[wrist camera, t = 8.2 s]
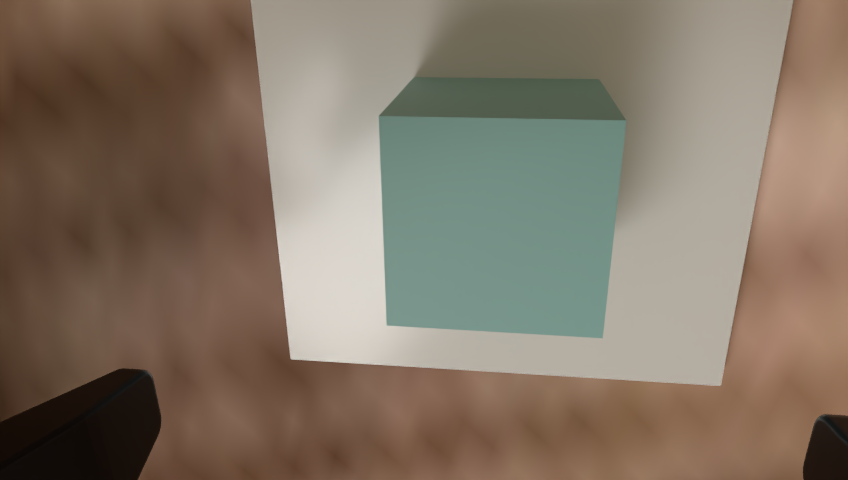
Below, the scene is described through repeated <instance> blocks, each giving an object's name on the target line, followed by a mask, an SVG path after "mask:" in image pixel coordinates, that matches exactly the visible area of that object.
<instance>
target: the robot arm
mask: <svg viewBox="0 0 848 480" xmlns="http://www.w3.org/2000/svg"><path fill="white" fill-rule="evenodd" d="M160 428H161V413H160V409H159V404H158V399H157V394H156V389H155V385H154V380H153V377H152V375H151V374H150V373H149V372H148V371H146V370H140V369H124V368H123V369H118V370H116V371H113V372H111V373H109V374H107V375H104V376H102V377H100V378H98V379H96V380H93V381H91V382H89V383H87V384H84V385H82V386H80V387H78V388H75V389H73V390H71V391H69V392H67V393H64V394H62V395H60V396H58V397H55V398H53V399H51V400H49V401H47V402H44V403H42V404H40V405H38V406H35V407H33V408H31V409H29V410H26V411H24V412H22V413H20V414H18V415H15V416H13V417H11V418H9V419H6V420H4V421H2V422H0V480H138V478H139V476H140V474H141V472H142V469H143V467H144V465H145V463H146V461H147V458H148V456H149V454H150V452H151V450H152V448H153V445H154V443H155V441H156V439H157V437H158V434H159V431H160ZM803 479H804V480H848V416H845V415H830V414H823V415H821V416H819V417H818V418H817V419H816V421H815V423H814V426H813V430H812V434H811V438H810V442H809V445H808V449H807V453H806V457H805V461H804V466H803Z"/></svg>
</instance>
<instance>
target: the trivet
mask: <svg viewBox="0 0 848 480" xmlns="http://www.w3.org/2000/svg"><path fill="white" fill-rule="evenodd" d="M792 6H793V0H251V8H252V17H253V26H254V35H255V44H256V53H257V62H258V71H259V80H260V89H261V98H262V107H263V116H264V124H265V133H266V142H267V151H268V160H269V169H270V178H271V187H272V196H273V205H274V214H275V223H276V232H277V241H278V250H279V259H280V268H281V277H282V286H283V295H284V304H285V313H286V322H287V331H288V340H289V348H290V357H291V359H294V360H310V361H327V362H343V363H359V364H375V365H391V366H407V367H424V368H440V369H456V370H472V371H488V372H504V373H520V374H537V375H553V376H569V377H585V378H601V379H617V380H633V381H650V382H666V383H682V384H698V385H714V386H721V382H722V377H723V371H724V366H725V361H726V355H727V350H728V345H729V340H730V334H731V329H732V324H733V318H734V313H735V308H736V302H737V297H738V292H739V287H740V281H741V276H742V271H743V265H744V260H745V255H746V249H747V244H748V239H749V234H750V228H751V223H752V218H753V212H754V207H755V202H756V196H757V191H758V186H759V181H760V175H761V170H762V165H763V159H764V154H765V149H766V143H767V138H768V133H769V128H770V122H771V117H772V112H773V106H774V101H775V96H776V90H777V85H778V80H779V75H780V69H781V64H782V59H783V53H784V48H785V43H786V38H787V32H788V27H789V22H790V16H791V11H792ZM414 77H441V78H540V79H599V80H600V81H601V83H602V84H603V86H604V87H605V89H606V90H607V92H608V93H609V95H610V96H611V98H612V99H613V101H614V102H615V104H616V105H617V107H618V109H619V110H620V112H621V113H622V115H623V116H624V118H625V119H626V129H625V138H624V147H623V157H622V166H621V175H620V184H619V193H618V203H617V212H616V221H615V230H614V239H613V249H612V258H611V267H610V276H609V285H608V295H607V304H606V313H605V322H604V331H603V338H589V337H572V336H555V335H538V334H521V333H504V332H487V331H470V330H453V329H436V328H419V327H402V326H387V322H386V295H385V269H384V243H383V217H382V191H381V165H380V139H379V115H380V114H381V113H382V112H383V111H384V110H385V108H386V107H387V106H388V105H389V104H390V103H391V102H392V101H393V100H394V99H395V98H396V96H397V95H398V94H399V93H400V92H401V91H402V90H403V89H404V88H405V87H406V85H407V84H408V83H409V82H410V81H411V80H412V79H413V78H414Z"/></svg>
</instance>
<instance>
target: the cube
mask: <svg viewBox="0 0 848 480" xmlns="http://www.w3.org/2000/svg"><path fill="white" fill-rule="evenodd" d="M625 129H626V119H625V118H624V116H623V115H622V113H621V112H620V110H619V109H618V107H617V105H616V104H615V102H614V101H613V99H612V98H611V96H610V95H609V93H608V92H607V90H606V89H605V87H604V86H603V84H602V83H601V81H600V80H599V79H540V78H441V77H414V78H413V79H412V80H411V81H410V82H409V83H408V84H407V85H406V87H405V88H404V89H403V90H402V91H401V92H400V93H399V94H398V95H397V96H396V98H395V99H394V100H393V101H392V102H391V103H390V104H389V105H388V106H387V107H386V108H385V110H384V111H383V112H382V113H381V114H380V115H379V139H380V165H381V191H382V217H383V243H384V269H385V295H386V322H387V326H402V327H419V328H436V329H453V330H470V331H487V332H504V333H521V334H538V335H555V336H572V337H589V338H603V331H604V322H605V313H606V304H607V295H608V285H609V276H610V267H611V258H612V249H613V239H614V230H615V221H616V212H617V203H618V193H619V184H620V175H621V166H622V157H623V147H624V138H625Z"/></svg>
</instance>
